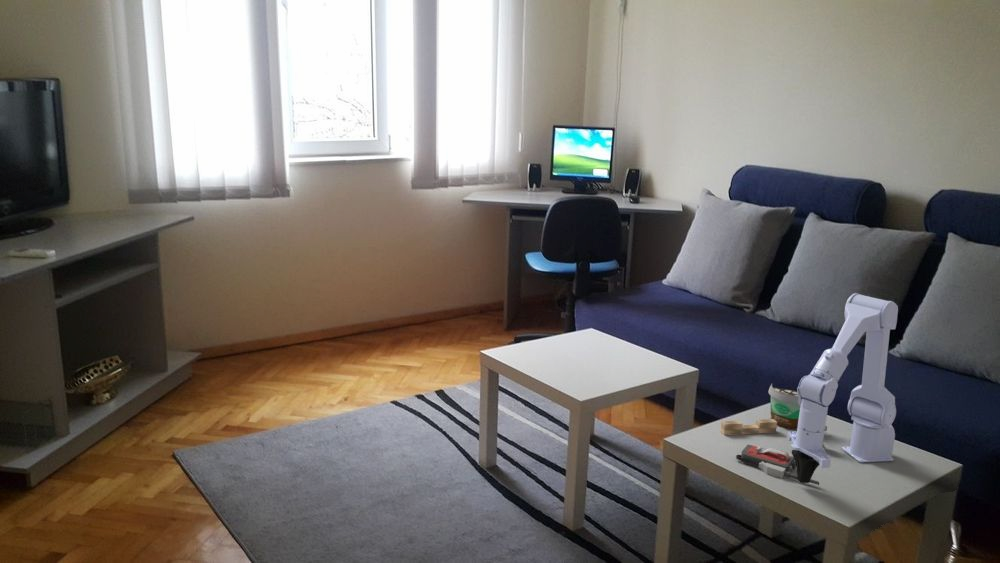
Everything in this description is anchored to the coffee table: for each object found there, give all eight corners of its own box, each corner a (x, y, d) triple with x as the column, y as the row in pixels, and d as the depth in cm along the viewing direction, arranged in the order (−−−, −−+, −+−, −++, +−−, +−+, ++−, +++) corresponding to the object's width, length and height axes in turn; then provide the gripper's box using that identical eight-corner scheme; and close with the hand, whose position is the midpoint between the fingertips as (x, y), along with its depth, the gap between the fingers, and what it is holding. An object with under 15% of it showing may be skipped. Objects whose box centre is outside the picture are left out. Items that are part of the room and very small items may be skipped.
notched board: (772, 429, 209) (773, 419, 208) (775, 432, 207) (777, 422, 206) (720, 431, 206) (721, 421, 205) (723, 434, 204) (724, 424, 203)
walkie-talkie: (732, 465, 188) (817, 491, 177) (733, 448, 187) (819, 473, 176) (743, 452, 195) (826, 476, 184) (745, 436, 194) (828, 459, 183)
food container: (759, 423, 212) (763, 389, 210) (765, 416, 217) (770, 382, 215) (805, 435, 206) (810, 400, 203) (811, 427, 210) (816, 393, 208)
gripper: (778, 414, 181) (771, 467, 184) (812, 442, 167) (804, 498, 170) (806, 413, 182) (798, 466, 185) (842, 440, 168) (833, 496, 171)
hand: (803, 481), depth 178 cm, fingers closed
